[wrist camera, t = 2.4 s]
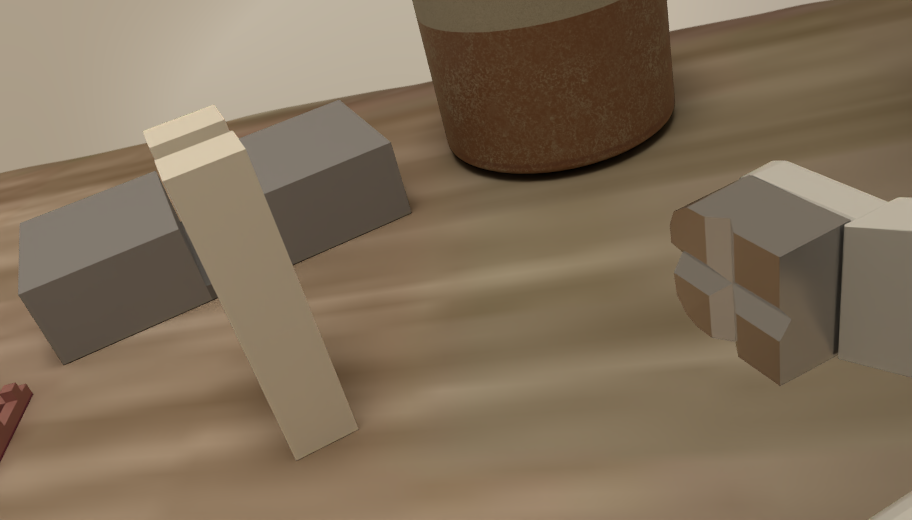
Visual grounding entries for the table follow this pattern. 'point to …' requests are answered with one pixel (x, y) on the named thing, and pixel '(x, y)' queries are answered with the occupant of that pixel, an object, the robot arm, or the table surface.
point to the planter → (547, 78)
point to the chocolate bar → (11, 411)
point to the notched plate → (252, 275)
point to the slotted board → (168, 245)
